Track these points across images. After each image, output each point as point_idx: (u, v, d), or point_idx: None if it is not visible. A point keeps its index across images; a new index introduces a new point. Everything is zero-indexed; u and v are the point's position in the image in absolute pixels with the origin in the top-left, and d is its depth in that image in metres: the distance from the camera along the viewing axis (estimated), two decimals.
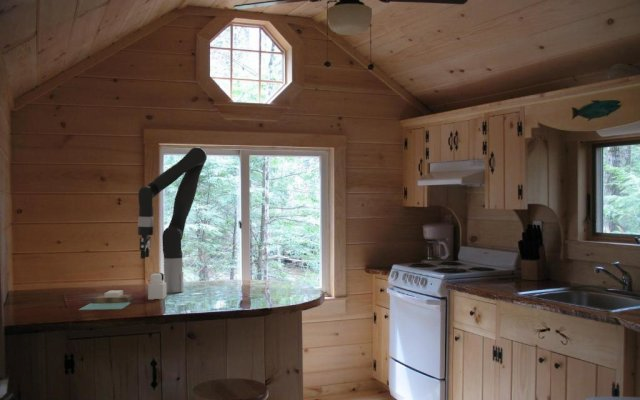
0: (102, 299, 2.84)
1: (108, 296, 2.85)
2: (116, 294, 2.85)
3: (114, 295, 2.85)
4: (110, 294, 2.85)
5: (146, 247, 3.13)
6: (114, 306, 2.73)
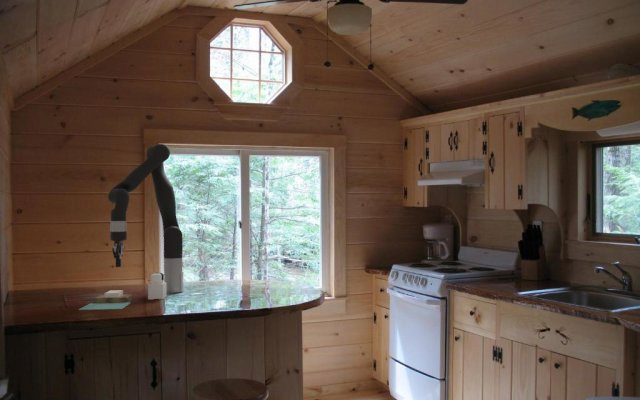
0: (102, 299, 2.84)
1: (108, 296, 2.85)
2: (116, 294, 2.85)
3: (114, 295, 2.85)
4: (110, 294, 2.85)
5: (121, 253, 2.99)
6: (114, 306, 2.73)
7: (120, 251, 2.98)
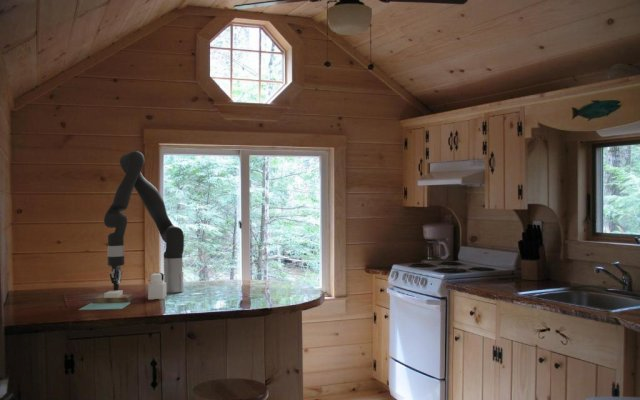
0: (102, 299, 2.84)
1: (108, 296, 2.84)
2: (116, 294, 2.85)
3: (114, 295, 2.85)
4: (110, 294, 2.84)
5: (118, 279, 2.94)
6: (114, 306, 2.73)
7: (118, 276, 2.93)
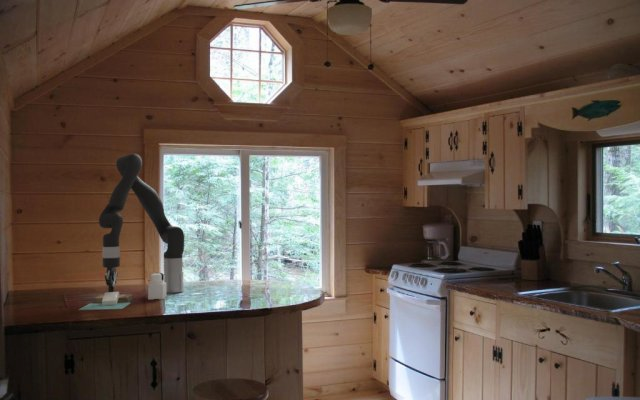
0: (102, 299, 2.84)
1: (106, 304, 2.77)
2: (114, 301, 2.77)
3: (112, 302, 2.77)
4: (108, 302, 2.77)
5: (114, 281, 2.86)
6: (114, 306, 2.73)
7: (113, 278, 2.85)
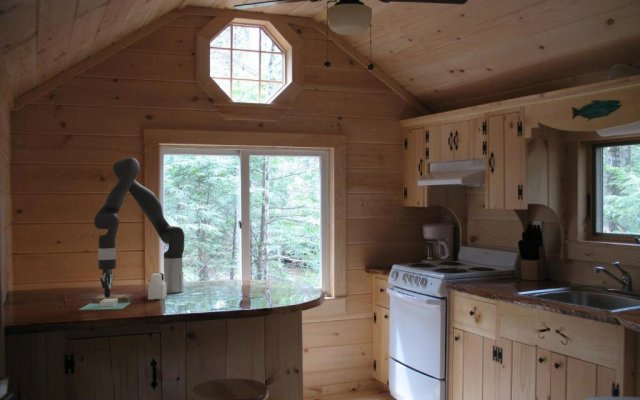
0: (102, 299, 2.84)
1: (103, 305, 2.74)
2: (112, 303, 2.75)
3: (110, 304, 2.74)
4: (105, 303, 2.74)
5: (110, 283, 2.79)
6: (114, 306, 2.73)
7: (109, 280, 2.78)
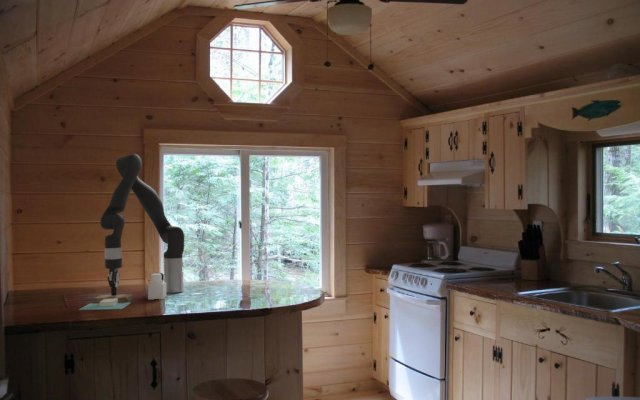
0: (102, 299, 2.84)
1: (103, 305, 2.74)
2: (112, 303, 2.75)
3: (110, 304, 2.74)
4: (105, 303, 2.74)
5: (116, 282, 2.87)
6: (114, 306, 2.73)
7: (116, 279, 2.86)
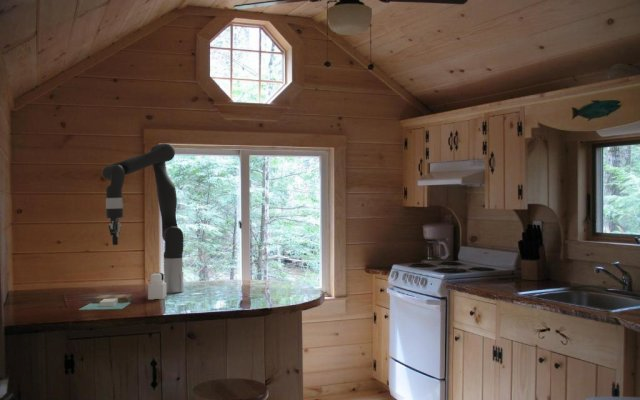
0: (102, 299, 2.84)
1: (103, 305, 2.74)
2: (112, 303, 2.75)
3: (110, 304, 2.74)
4: (105, 303, 2.74)
5: (117, 231, 2.92)
6: (114, 306, 2.73)
7: (117, 228, 2.91)
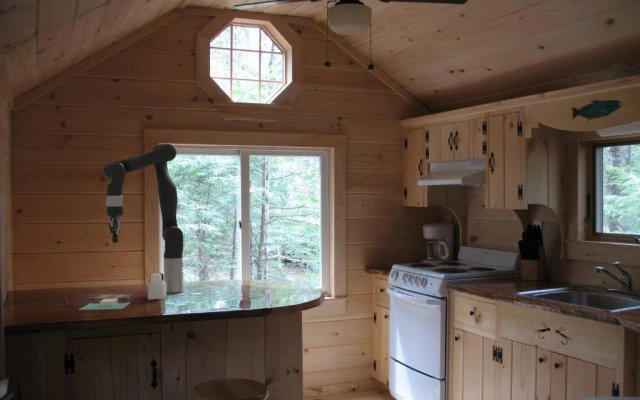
0: (102, 299, 2.84)
1: (103, 305, 2.74)
2: (112, 303, 2.75)
3: (110, 304, 2.74)
4: (105, 303, 2.74)
5: (117, 229, 2.93)
6: (114, 306, 2.73)
7: (117, 226, 2.91)
